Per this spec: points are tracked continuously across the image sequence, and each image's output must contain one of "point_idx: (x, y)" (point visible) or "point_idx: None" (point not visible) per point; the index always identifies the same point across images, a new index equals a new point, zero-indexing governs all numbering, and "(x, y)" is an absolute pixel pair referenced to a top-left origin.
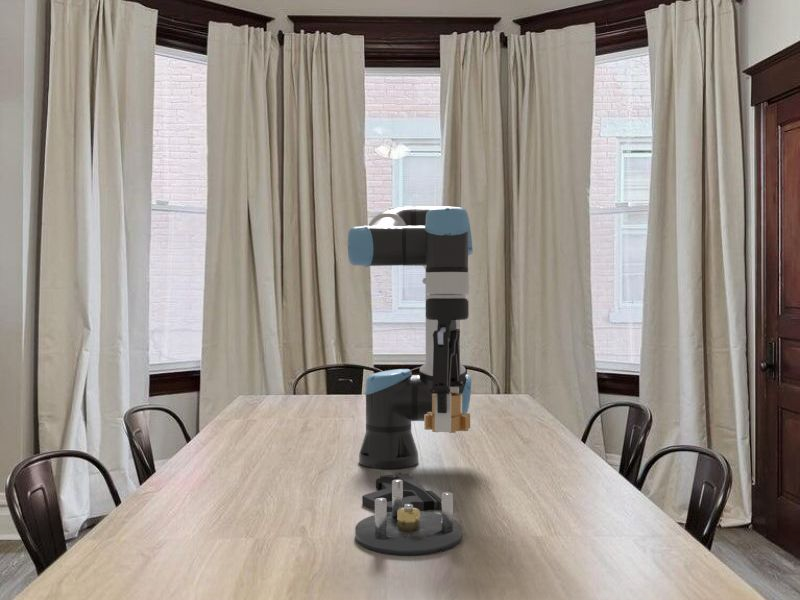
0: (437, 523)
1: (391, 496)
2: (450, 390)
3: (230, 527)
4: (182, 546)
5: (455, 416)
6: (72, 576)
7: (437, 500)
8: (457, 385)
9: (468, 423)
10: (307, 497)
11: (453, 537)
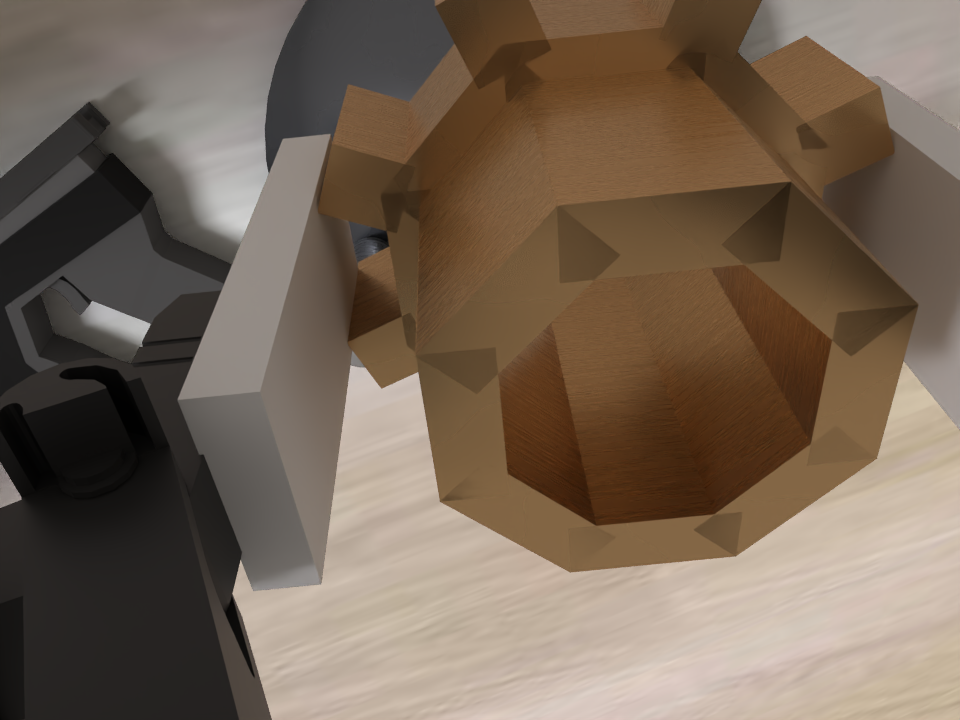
0: (411, 54)
1: None
2: (298, 461)
3: (585, 630)
4: (743, 645)
5: (764, 115)
6: (934, 702)
7: (70, 159)
8: (159, 441)
9: None
10: (236, 595)
11: None
